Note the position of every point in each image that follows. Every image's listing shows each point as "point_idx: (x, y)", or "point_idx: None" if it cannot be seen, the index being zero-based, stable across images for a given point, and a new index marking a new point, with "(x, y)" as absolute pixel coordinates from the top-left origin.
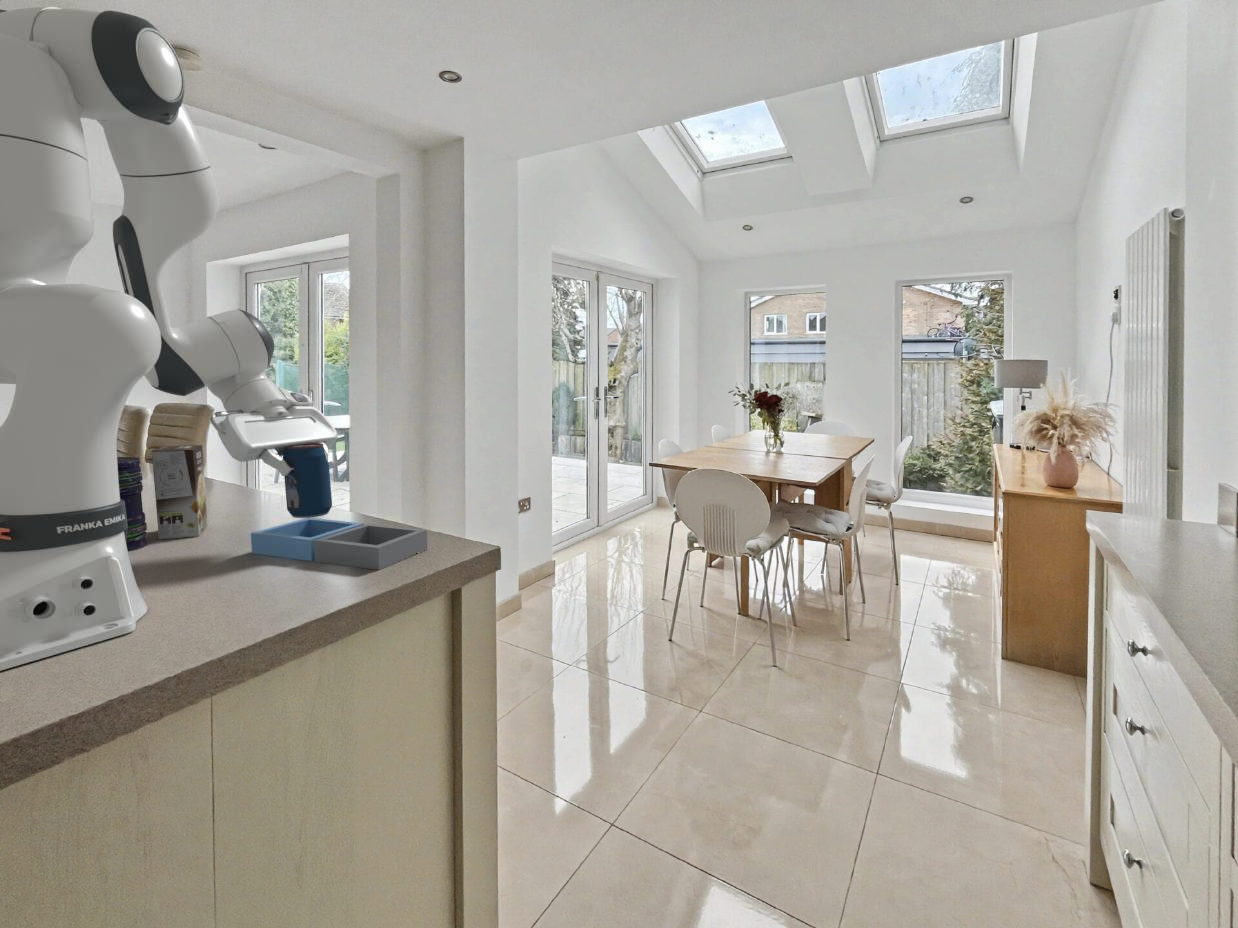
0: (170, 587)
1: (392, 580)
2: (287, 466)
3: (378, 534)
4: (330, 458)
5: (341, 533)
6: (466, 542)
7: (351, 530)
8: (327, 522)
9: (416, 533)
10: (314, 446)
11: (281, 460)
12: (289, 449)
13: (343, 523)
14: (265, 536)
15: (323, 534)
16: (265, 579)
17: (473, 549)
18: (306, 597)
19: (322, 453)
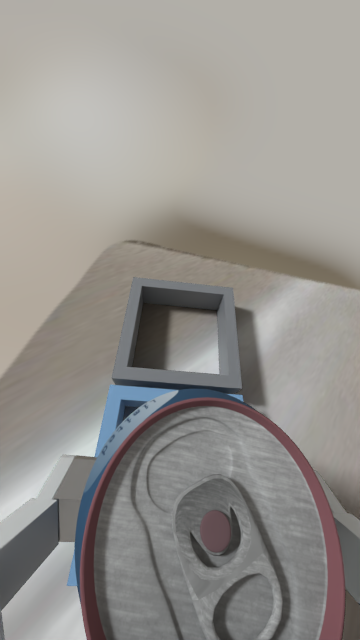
0: None
1: (244, 279)
2: (319, 480)
3: (131, 352)
4: (51, 471)
5: (189, 375)
6: (92, 270)
7: (166, 372)
8: None
9: (156, 280)
10: (238, 404)
11: (354, 523)
12: (329, 557)
13: (115, 428)
14: None
15: None
16: (312, 401)
17: (122, 255)
18: (318, 319)
19: (195, 391)
